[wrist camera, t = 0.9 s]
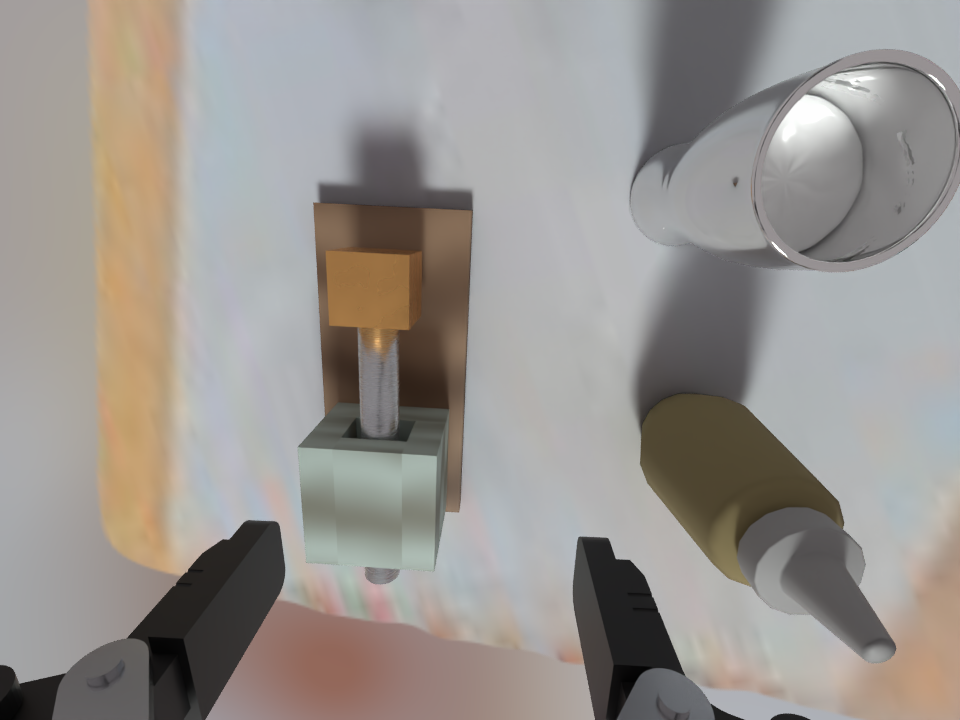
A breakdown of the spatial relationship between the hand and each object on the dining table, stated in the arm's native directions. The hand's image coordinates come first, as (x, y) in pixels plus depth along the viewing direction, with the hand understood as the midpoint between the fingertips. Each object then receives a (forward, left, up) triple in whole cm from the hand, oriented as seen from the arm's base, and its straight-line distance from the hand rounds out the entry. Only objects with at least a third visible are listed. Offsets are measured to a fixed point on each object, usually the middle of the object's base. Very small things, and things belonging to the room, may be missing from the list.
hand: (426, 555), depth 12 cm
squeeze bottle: (+5, +16, -21) cm, 27 cm away
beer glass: (-11, +13, -21) cm, 27 cm away
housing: (+2, -5, -21) cm, 22 cm away
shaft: (+4, -5, -18) cm, 19 cm away
